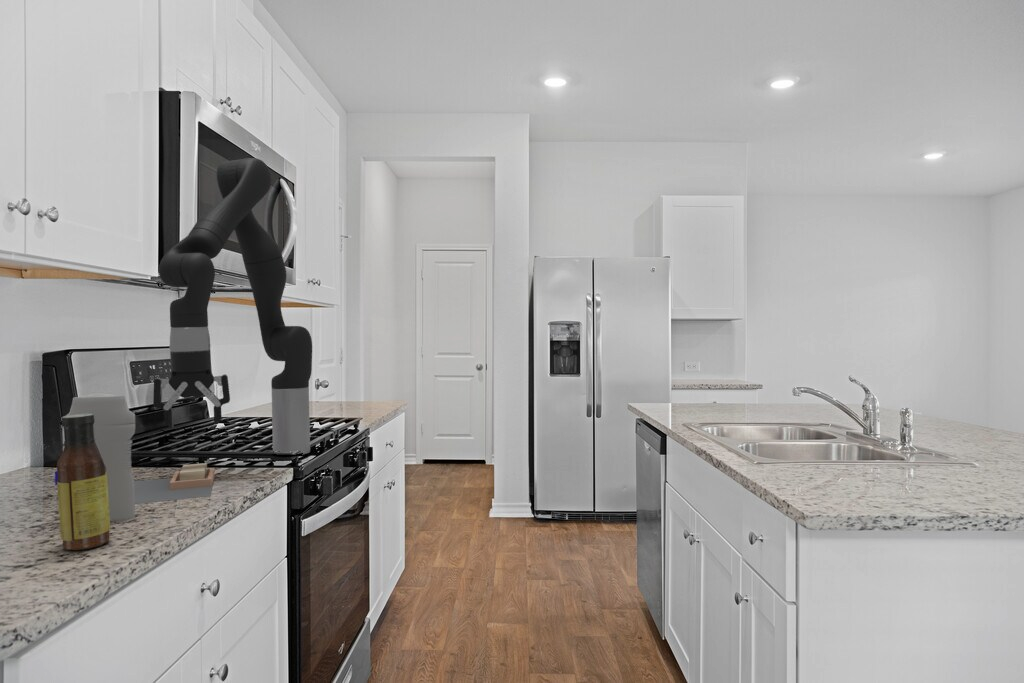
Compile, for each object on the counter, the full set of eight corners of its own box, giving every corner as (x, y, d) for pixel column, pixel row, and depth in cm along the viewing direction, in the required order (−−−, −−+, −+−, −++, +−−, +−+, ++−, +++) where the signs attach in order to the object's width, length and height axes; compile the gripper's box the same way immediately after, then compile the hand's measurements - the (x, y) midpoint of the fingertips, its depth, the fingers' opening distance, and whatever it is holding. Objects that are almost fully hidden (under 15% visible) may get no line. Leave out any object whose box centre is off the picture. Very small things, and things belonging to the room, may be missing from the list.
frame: (175, 478, 136) (175, 471, 136) (214, 474, 139) (214, 467, 139) (169, 490, 126) (169, 482, 126) (211, 486, 129) (211, 478, 128)
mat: (132, 483, 133) (132, 481, 133) (215, 476, 139) (215, 474, 139) (113, 508, 115) (113, 505, 115) (210, 498, 121) (210, 496, 121)
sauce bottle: (119, 537, 99) (116, 411, 98) (94, 552, 92) (90, 417, 92) (76, 538, 98) (73, 412, 98) (48, 553, 92) (44, 418, 92)
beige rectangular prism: (204, 485, 129) (204, 470, 129) (179, 487, 128) (179, 472, 128) (206, 476, 137) (206, 463, 137) (183, 478, 135) (183, 465, 135)
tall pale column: (61, 529, 103) (57, 395, 102) (71, 522, 107) (67, 393, 106) (134, 523, 106) (130, 393, 105) (141, 516, 110) (138, 390, 109)
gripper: (228, 346, 138) (231, 420, 138) (154, 349, 132) (157, 426, 133) (227, 348, 131) (230, 425, 131) (148, 351, 125) (152, 432, 126)
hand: (193, 425), depth 132 cm, fingers open, 8 cm apart
